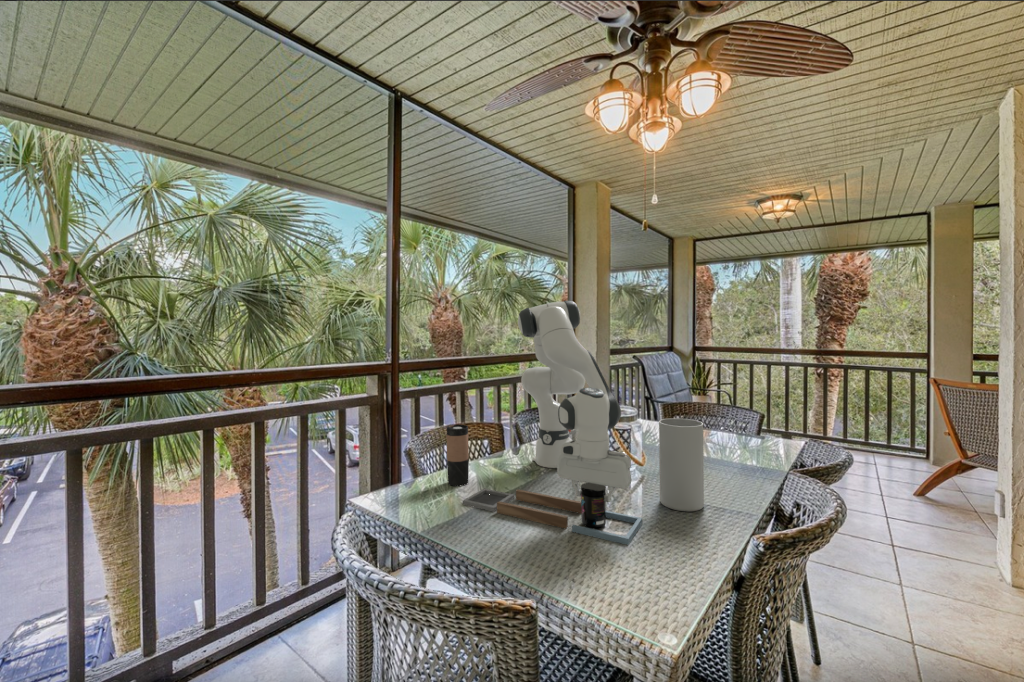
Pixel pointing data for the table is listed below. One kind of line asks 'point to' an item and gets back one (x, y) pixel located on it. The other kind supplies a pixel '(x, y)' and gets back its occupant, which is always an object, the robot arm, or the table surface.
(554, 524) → the channel
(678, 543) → the table surface
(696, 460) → the cylinder vase
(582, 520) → the supplement container
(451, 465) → the travel mug
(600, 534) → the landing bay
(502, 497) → the tray
